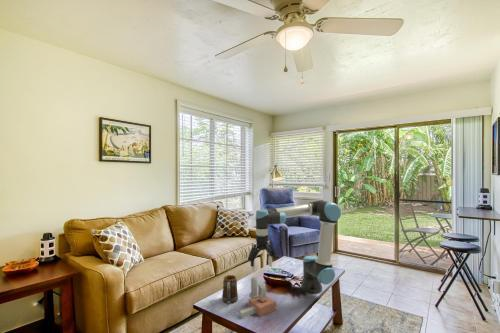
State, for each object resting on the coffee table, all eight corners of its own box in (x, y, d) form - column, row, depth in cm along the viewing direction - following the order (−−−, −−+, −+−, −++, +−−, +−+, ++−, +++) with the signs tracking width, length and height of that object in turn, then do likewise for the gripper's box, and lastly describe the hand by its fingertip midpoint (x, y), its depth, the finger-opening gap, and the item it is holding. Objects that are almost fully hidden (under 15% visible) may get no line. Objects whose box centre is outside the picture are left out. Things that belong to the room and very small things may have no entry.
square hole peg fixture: (258, 298, 173) (258, 274, 173) (275, 309, 159) (275, 283, 159) (230, 309, 160) (230, 283, 160) (246, 322, 146) (246, 294, 146)
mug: (223, 295, 177) (223, 274, 177) (238, 296, 176) (238, 274, 177) (219, 308, 161) (219, 284, 161) (236, 308, 161) (236, 284, 161)
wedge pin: (263, 306, 163) (263, 282, 163) (266, 308, 160) (266, 284, 161) (257, 308, 160) (257, 284, 161) (260, 311, 158) (260, 286, 158)
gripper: (273, 230, 171) (273, 262, 171) (242, 236, 157) (242, 271, 157) (280, 233, 165) (280, 266, 165) (249, 239, 151) (249, 275, 151)
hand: (262, 268), depth 161 cm, fingers open, 13 cm apart
